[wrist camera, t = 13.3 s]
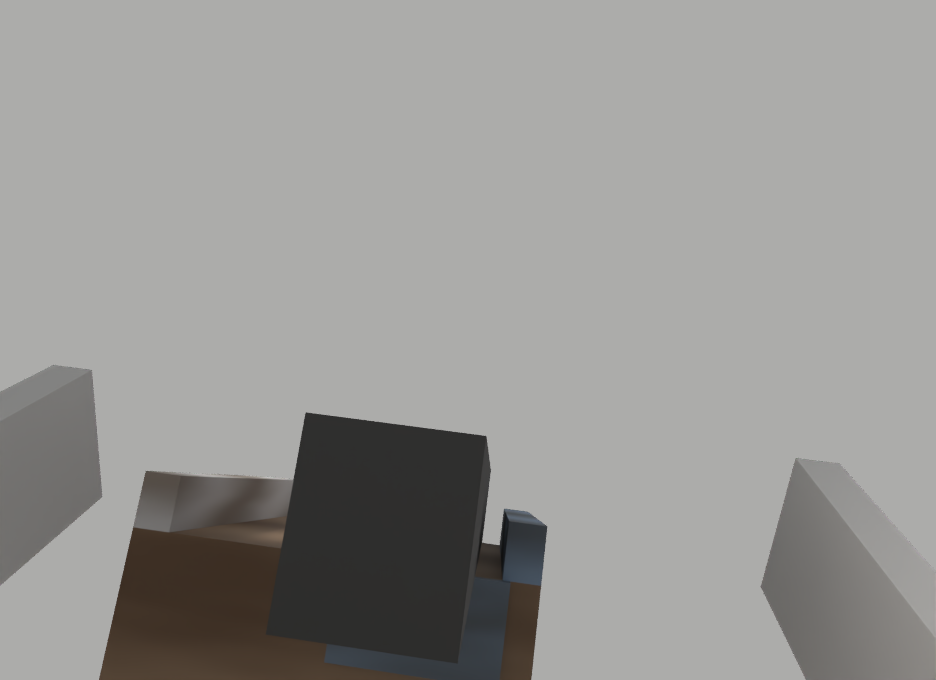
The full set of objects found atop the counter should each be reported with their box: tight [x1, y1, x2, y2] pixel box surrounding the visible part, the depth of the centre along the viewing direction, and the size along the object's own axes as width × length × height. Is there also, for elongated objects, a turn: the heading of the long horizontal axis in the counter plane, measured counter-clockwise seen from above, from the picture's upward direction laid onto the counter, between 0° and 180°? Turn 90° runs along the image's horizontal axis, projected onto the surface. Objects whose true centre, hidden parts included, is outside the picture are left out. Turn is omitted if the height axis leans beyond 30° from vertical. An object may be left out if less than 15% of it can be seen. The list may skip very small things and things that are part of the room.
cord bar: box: [266, 413, 491, 664], centre depth 20 cm, size 21×3×3 cm, turn 178°
